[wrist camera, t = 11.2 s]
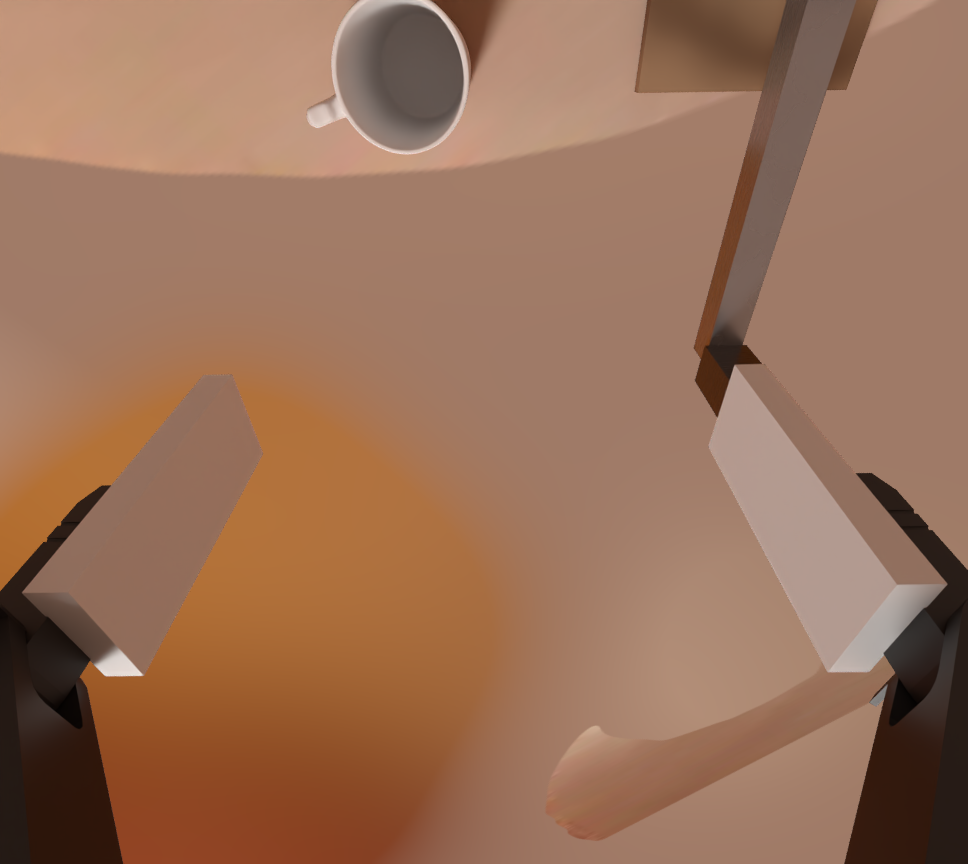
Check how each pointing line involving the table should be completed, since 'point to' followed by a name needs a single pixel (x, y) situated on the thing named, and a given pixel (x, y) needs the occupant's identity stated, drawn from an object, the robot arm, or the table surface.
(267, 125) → the table surface
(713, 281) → the grey l-shaped bar
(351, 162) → the table surface
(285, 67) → the table surface
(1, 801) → the robot arm
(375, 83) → the mug
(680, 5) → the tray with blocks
